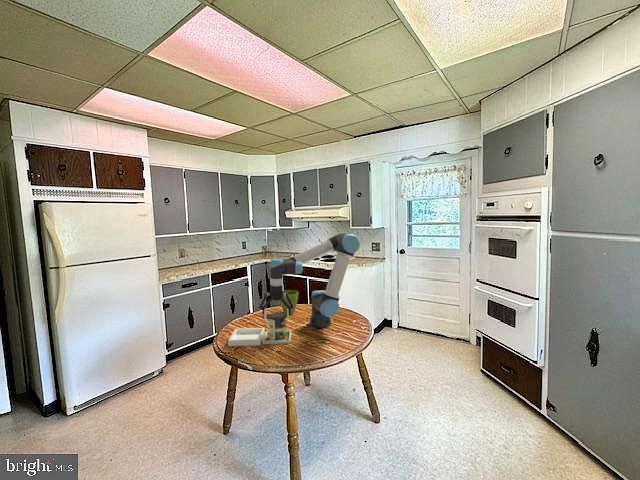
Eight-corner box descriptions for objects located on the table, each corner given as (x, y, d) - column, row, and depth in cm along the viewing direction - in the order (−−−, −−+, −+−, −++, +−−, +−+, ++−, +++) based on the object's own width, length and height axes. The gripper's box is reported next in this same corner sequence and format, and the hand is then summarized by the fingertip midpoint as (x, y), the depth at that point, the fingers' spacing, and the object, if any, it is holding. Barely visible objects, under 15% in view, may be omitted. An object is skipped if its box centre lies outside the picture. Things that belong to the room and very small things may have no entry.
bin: (264, 333, 189) (264, 327, 188) (260, 345, 171) (260, 339, 171) (235, 334, 188) (235, 328, 188) (228, 346, 170) (228, 340, 170)
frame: (291, 332, 189) (291, 330, 189) (290, 343, 174) (290, 340, 173) (266, 333, 189) (266, 330, 189) (262, 344, 173) (262, 341, 173)
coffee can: (288, 335, 185) (287, 313, 184) (283, 342, 175) (282, 318, 174) (272, 334, 187) (272, 312, 186) (266, 341, 177) (265, 317, 176)
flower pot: (275, 313, 227) (274, 292, 226) (289, 308, 239) (288, 289, 237) (288, 317, 218) (288, 296, 216) (302, 312, 229) (302, 292, 228)
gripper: (297, 283, 183) (297, 317, 184) (256, 283, 182) (256, 317, 183) (297, 286, 175) (297, 321, 177) (254, 286, 174) (254, 321, 176)
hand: (276, 319), depth 180 cm, fingers open, 13 cm apart
